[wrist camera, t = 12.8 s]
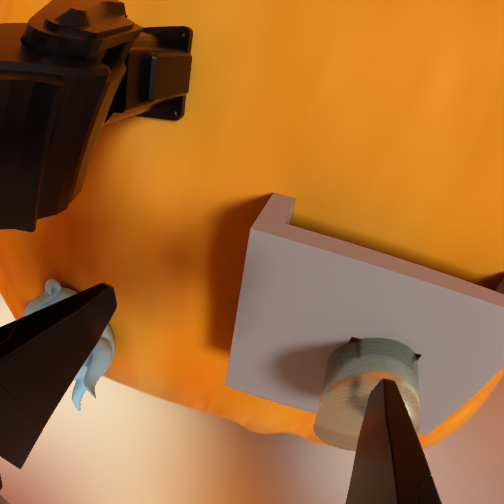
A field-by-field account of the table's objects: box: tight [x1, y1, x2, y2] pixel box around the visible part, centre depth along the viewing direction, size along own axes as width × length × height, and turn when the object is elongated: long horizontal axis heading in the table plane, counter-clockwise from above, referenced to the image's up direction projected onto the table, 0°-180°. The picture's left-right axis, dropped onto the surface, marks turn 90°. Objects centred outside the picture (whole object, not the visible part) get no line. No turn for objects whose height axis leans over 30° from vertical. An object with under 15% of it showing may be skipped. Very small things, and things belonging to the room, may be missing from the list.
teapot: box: [24, 278, 115, 411], centre depth 34 cm, size 15×15×10 cm
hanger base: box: [225, 193, 504, 435], centre depth 21 cm, size 20×16×5 cm
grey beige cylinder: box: [314, 337, 420, 451], centre depth 19 cm, size 6×6×9 cm
